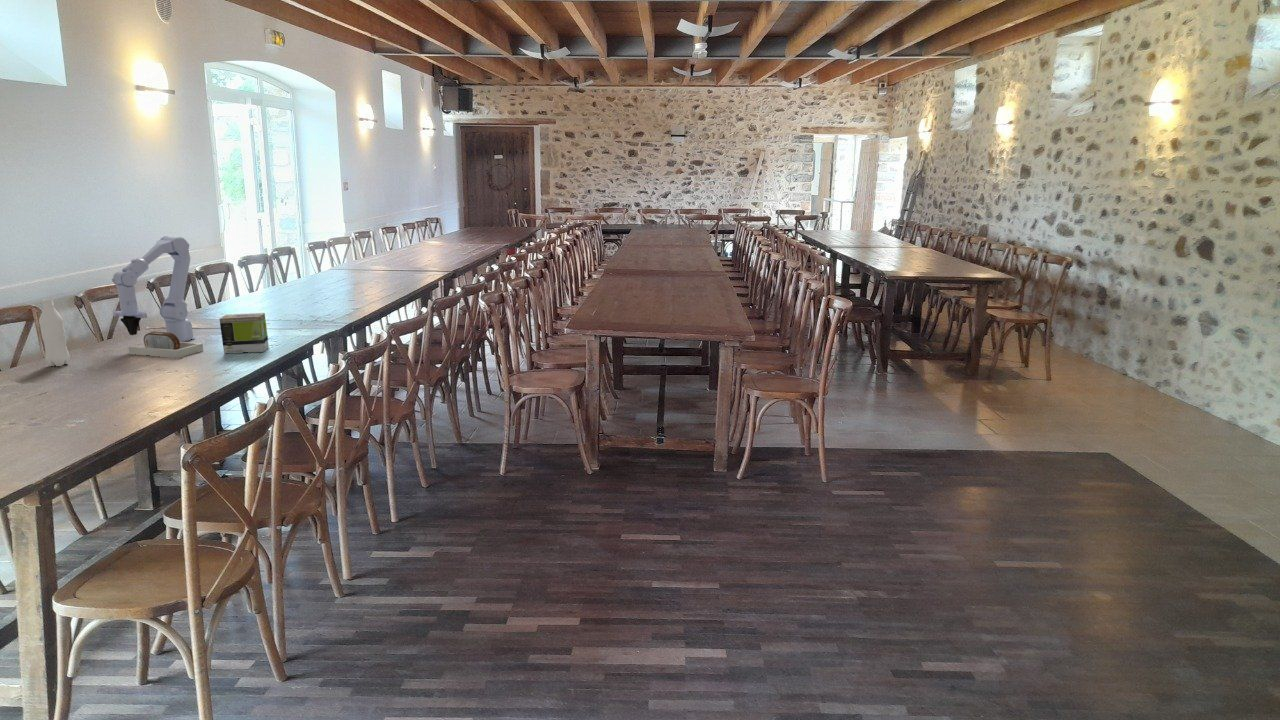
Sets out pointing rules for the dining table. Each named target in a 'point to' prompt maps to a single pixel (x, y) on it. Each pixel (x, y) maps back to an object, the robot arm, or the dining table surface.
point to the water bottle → (53, 335)
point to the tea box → (244, 333)
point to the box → (168, 350)
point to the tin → (161, 340)
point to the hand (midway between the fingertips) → (133, 334)
